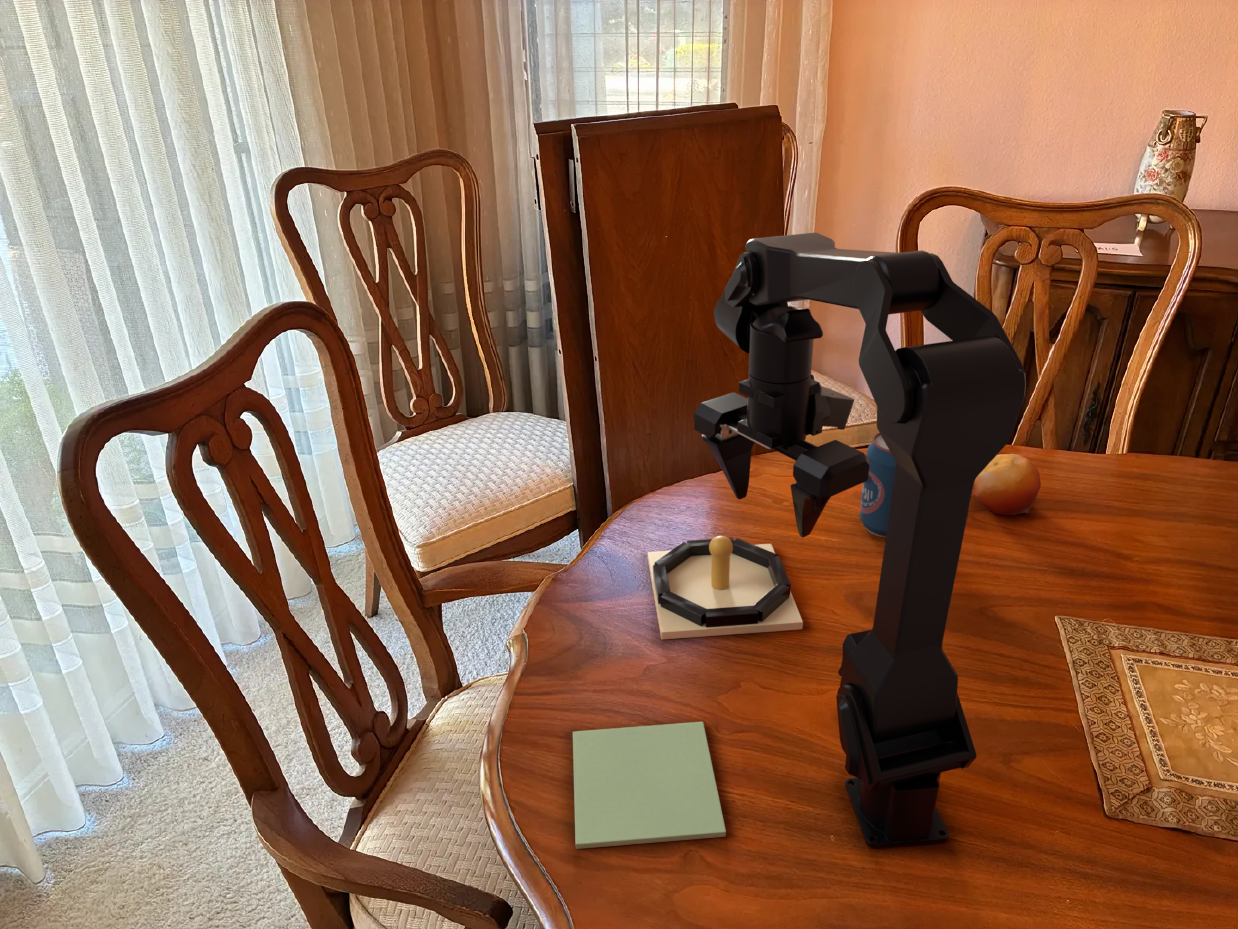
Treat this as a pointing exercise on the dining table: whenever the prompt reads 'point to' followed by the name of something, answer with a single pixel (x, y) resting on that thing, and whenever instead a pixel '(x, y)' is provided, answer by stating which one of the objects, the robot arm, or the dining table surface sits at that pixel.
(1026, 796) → the dining table surface
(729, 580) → the stand
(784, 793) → the dining table surface
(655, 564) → the ring
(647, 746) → the mat
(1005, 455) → the fruit
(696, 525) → the dining table surface
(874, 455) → the soda can
